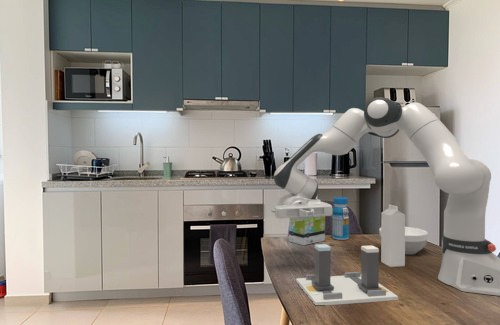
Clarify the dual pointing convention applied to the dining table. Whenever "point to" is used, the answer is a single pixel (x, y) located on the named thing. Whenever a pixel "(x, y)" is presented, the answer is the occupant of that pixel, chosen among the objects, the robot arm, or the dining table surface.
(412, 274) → the dining table surface
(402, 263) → the milk
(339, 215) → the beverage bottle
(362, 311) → the dining table surface
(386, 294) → the twin pillar base
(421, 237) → the bowl
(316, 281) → the grey capped post
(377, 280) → the grey post on base
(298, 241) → the tea box
